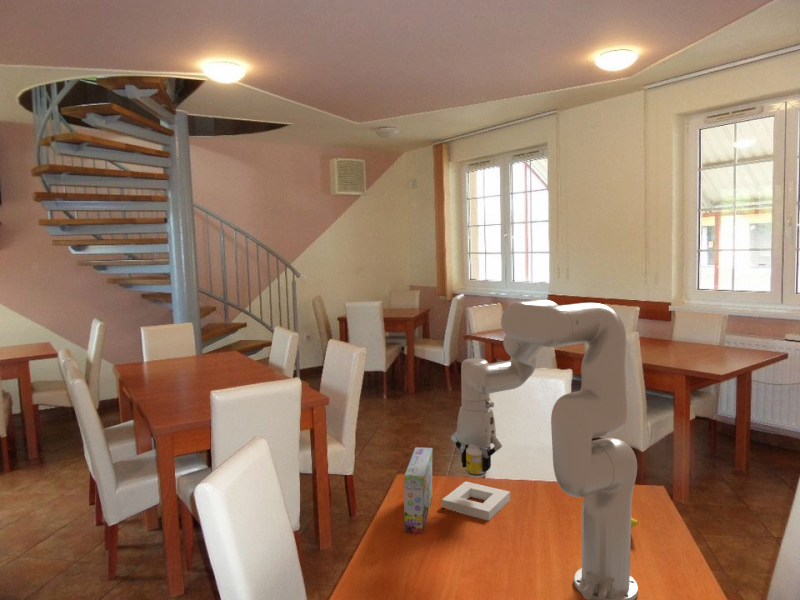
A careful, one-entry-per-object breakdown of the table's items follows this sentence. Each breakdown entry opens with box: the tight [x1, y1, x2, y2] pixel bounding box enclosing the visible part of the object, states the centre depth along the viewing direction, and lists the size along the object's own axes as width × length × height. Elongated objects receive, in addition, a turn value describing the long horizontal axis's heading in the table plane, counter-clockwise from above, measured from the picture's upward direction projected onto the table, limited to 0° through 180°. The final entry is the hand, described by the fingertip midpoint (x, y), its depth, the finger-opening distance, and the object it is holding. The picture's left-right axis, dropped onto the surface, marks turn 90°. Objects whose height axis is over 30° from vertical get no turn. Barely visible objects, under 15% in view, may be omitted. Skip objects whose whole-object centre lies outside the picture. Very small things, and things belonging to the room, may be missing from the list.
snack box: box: [403, 447, 434, 534], centre depth 155 cm, size 21×6×15 cm, turn 171°
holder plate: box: [441, 481, 511, 521], centre depth 160 cm, size 14×14×2 cm
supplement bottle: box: [465, 444, 487, 479], centre depth 159 cm, size 5×5×10 cm
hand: (476, 467), depth 159 cm, fingers closed on supplement bottle, 5 cm apart
